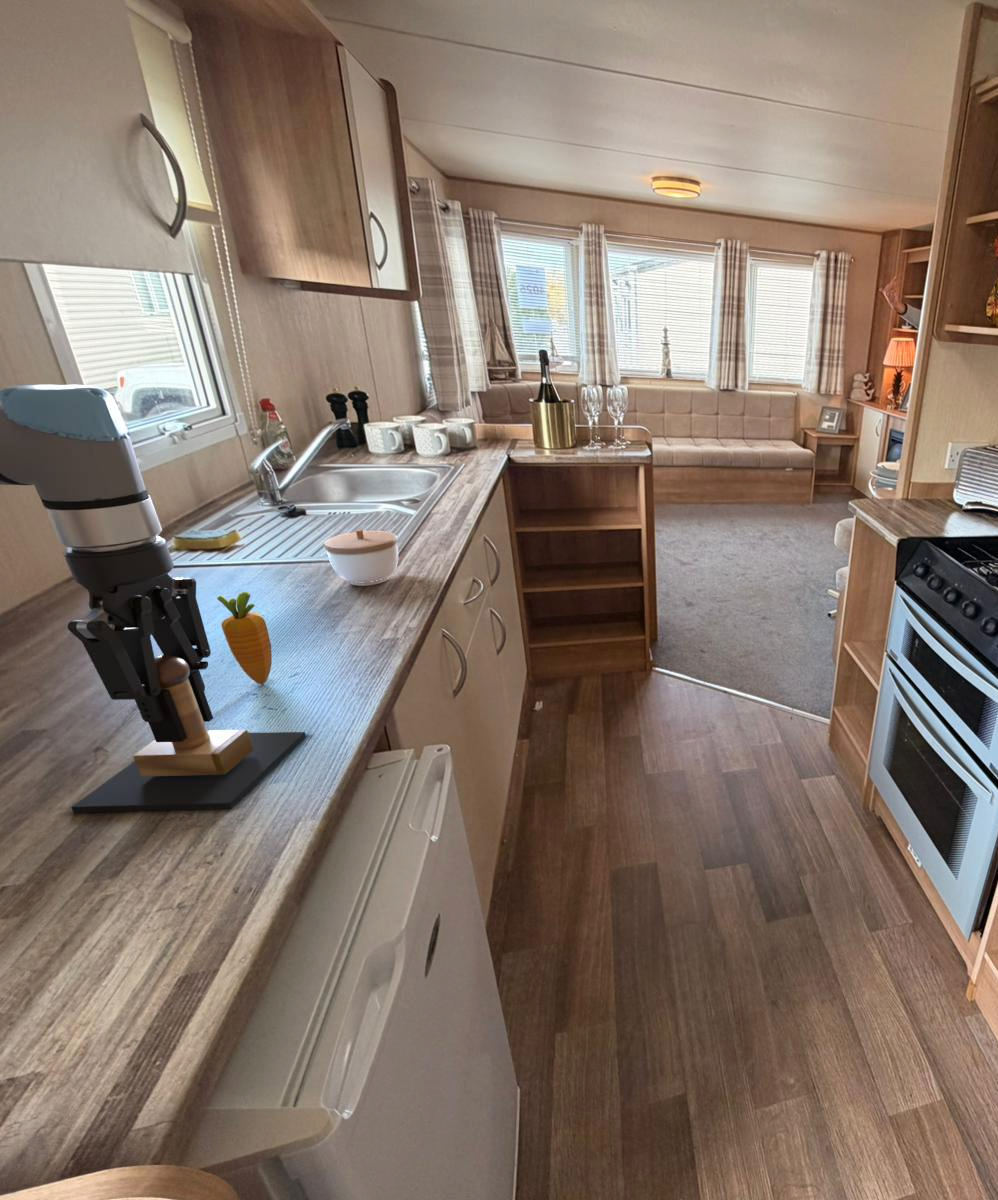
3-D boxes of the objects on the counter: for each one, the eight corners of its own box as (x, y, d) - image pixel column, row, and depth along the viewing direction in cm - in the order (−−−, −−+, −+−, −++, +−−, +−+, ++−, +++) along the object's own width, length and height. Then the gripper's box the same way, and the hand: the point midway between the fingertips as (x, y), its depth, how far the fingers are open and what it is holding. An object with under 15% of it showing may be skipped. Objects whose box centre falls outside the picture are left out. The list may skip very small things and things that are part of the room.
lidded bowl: (329, 576, 136) (317, 527, 132) (396, 566, 144) (387, 519, 140) (339, 595, 127) (326, 542, 123) (410, 582, 135) (400, 533, 131)
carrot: (232, 688, 95) (201, 596, 89) (267, 673, 99) (239, 584, 93) (257, 695, 93) (227, 601, 88) (291, 679, 98) (264, 589, 92)
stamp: (254, 749, 80) (219, 646, 74) (225, 774, 75) (186, 667, 70) (175, 751, 79) (134, 647, 73) (141, 776, 74) (94, 667, 69)
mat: (73, 812, 70) (70, 807, 70) (174, 738, 83) (172, 733, 83) (231, 808, 72) (229, 803, 72) (306, 736, 85) (304, 731, 85)
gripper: (140, 519, 73) (203, 694, 82) (-11, 567, 58) (86, 775, 67) (212, 520, 74) (266, 693, 83) (81, 568, 59) (164, 773, 68)
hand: (185, 729), depth 75 cm, fingers closed on stamp, 3 cm apart
